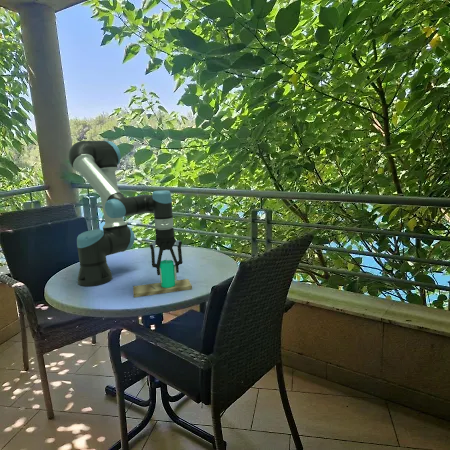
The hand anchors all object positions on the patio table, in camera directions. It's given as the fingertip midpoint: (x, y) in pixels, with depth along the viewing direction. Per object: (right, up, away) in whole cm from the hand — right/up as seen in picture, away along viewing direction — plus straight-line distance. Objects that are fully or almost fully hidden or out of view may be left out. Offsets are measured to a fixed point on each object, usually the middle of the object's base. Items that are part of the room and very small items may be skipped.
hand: (168, 280), depth 144 cm
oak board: (-3, -4, 0) cm, 4 cm away
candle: (0, -2, 0) cm, 2 cm away
